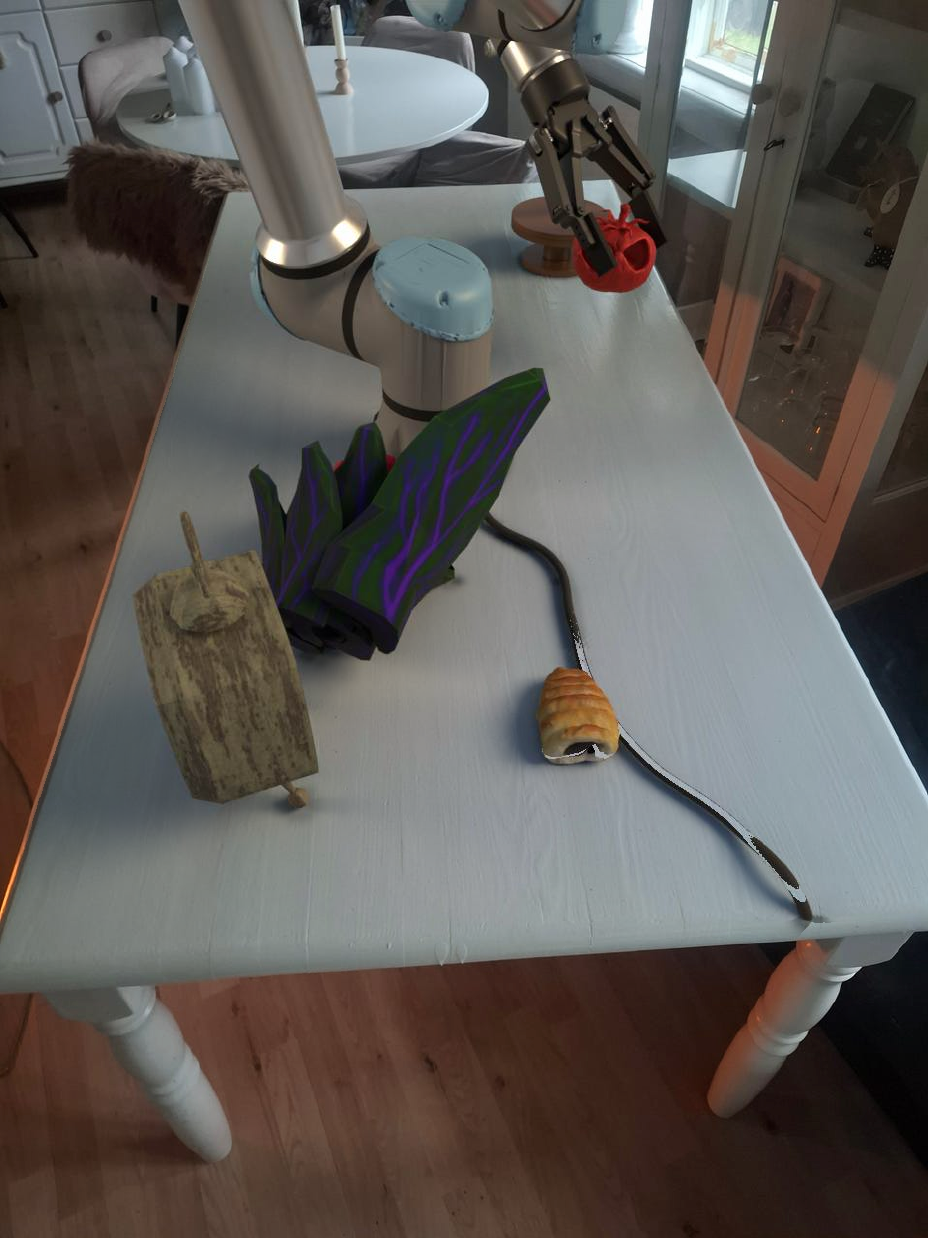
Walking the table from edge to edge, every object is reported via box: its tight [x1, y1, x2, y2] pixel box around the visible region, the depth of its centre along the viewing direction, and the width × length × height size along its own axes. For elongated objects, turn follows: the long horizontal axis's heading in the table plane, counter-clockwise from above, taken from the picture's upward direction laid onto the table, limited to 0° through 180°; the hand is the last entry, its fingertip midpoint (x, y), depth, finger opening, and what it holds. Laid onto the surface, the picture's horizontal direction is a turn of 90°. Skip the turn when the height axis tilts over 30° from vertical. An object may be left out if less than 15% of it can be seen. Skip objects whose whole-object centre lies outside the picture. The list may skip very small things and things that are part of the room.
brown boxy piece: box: [132, 510, 320, 809], centre depth 62 cm, size 14×9×25 cm, turn 22°
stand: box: [510, 195, 609, 278], centre depth 134 cm, size 15×15×7 cm
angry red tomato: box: [572, 203, 657, 294], centre depth 103 cm, size 10×10×9 cm
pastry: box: [535, 666, 619, 765], centre depth 73 cm, size 9×7×4 cm
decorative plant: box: [248, 367, 552, 662], centre depth 79 cm, size 21×26×30 cm
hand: (635, 258), depth 102 cm, fingers closed on angry red tomato, 9 cm apart
